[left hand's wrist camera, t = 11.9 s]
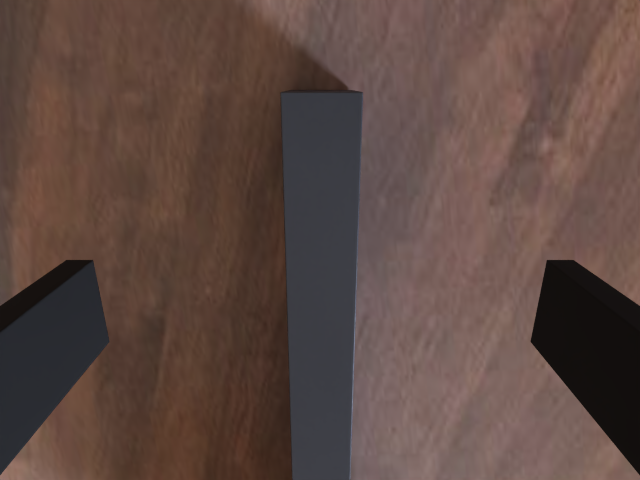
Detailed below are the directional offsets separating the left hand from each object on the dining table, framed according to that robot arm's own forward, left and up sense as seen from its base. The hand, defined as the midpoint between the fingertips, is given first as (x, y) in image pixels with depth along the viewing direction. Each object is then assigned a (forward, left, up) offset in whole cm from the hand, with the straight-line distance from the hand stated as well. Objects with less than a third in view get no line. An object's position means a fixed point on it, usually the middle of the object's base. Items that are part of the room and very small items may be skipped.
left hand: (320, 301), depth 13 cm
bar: (+21, +5, -24) cm, 32 cm away
